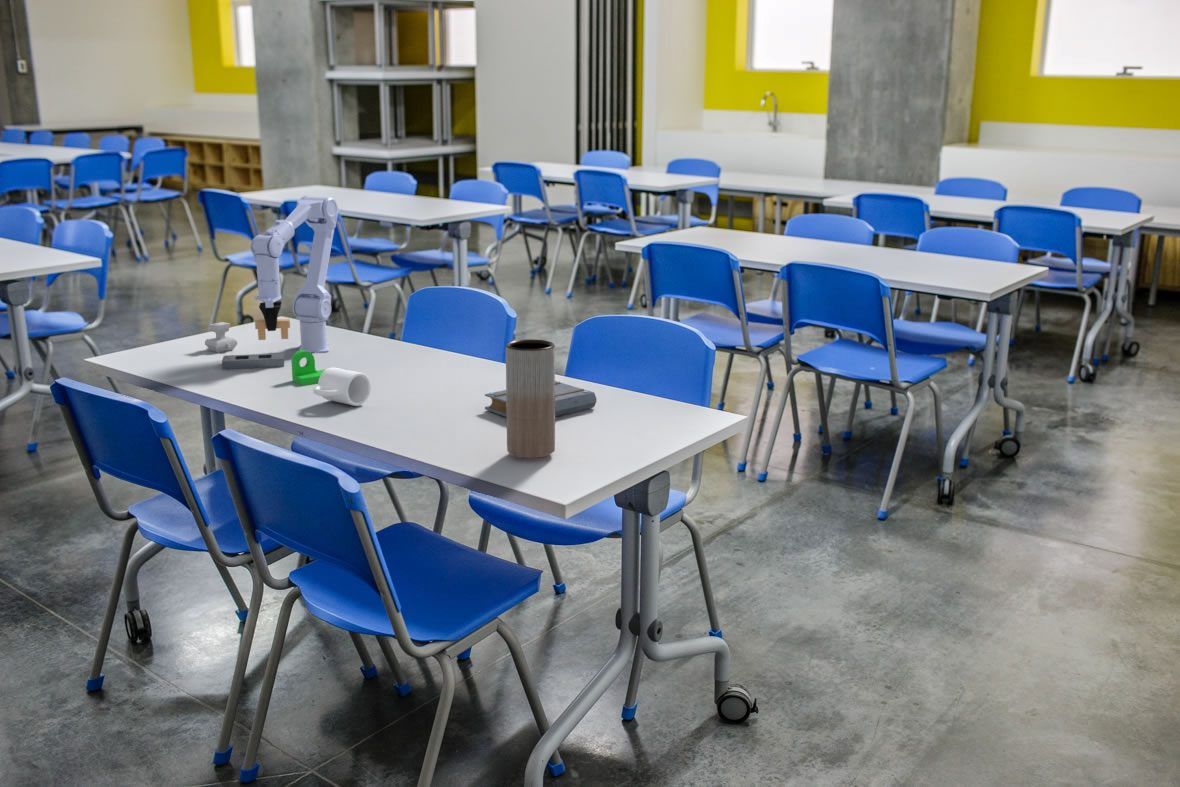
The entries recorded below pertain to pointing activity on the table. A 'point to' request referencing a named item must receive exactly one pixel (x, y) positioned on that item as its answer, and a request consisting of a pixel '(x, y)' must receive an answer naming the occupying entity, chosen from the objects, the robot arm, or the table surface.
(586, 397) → the book
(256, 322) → the tan wooden block
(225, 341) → the stamp
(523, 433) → the planter
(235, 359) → the grey flat block
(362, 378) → the mug
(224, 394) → the table surface
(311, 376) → the mechanical part
